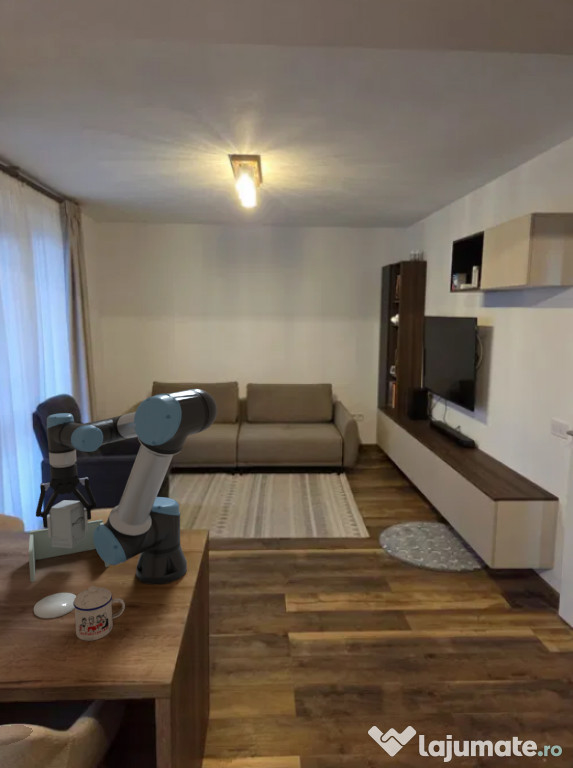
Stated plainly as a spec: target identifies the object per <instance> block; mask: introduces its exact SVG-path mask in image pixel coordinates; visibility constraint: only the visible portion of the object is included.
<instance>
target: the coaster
mask: <svg viewBox="0 0 573 768" xmlns="http://www.w3.org/2000/svg"><path fill="white" fill-rule="evenodd" d="M76 596H77V595H75V593H71V592H57V593H54V594H53V593H52V594H50V595H48V596H44V597H43V598H41V599H40V600H38V601H37V602H36V604H35V605H34V607H33V613H34V615H35V617H38V618H40V619H55V618H58V617H59V618H60V617H62V616H65V615H67V614H69V613H71V612H72V611H75V607H74V605H73V602H74V599H75V597H76Z"/></svg>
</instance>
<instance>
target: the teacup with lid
mask: <svg viewBox="0 0 573 768" xmlns="http://www.w3.org/2000/svg"><path fill="white" fill-rule="evenodd" d="M115 603H120V604H121V608H120V609H119V611H118V612H116V613H113V605H112V604H115ZM125 603H126V602H125V601H124V600H123V599H122V598H120V597H116V598H113V594H112V592H111V590H109V589H108V588H106V587H97V586H96V585H92V586H89V587H88V589H85V590H82V591H81V592H79V593H78V594H77V595H76V597H75V599H74V602H73V605H74V607H75V609H74V619H75V634H76V637H77V638H78V639H80V640H81V641H85V642H87V641H97V640H99V639H102V638H104V637H106V636H108V635H109V634H110V632H111V631H112V629H113V623H114V622H113V620H114V619H117V618H118V617H120V616H121V615H122V614H123V612H124V611H125V608H126V604H125Z"/></svg>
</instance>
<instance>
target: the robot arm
mask: <svg viewBox="0 0 573 768" xmlns="http://www.w3.org/2000/svg"><path fill="white" fill-rule="evenodd" d="M217 416H218V404H217V402H216V400H215V398H214V396H213V395H212V394H210V393H209V392H208V391H205V390H203V389H199V388H190V389H189V388H188V389H185V390H180V391H176V392H175V391H174V392H170V393H159V394H155V395H153V396H150V397H147V398H146V399H144V400H142V402H140V403H139V405H138V406H137V408H136V410H135V411H134V412H129V413H126V414H121V415H117V416H114V417H109V418H104V419H100V420H94V421H90V422H85V423H77V422H75V419H74V416H73V414H72V413H68V412H65V413H64V412H63V413H62V412H61V413H55V414H54V413H53V414H50V415H48V416H47V418H46V433H47V434H46V435H47V445H48V457H49V458H48V459H49V465H50V467H49V469H50V470H49V471H50V472H49V473H50V480H49V482H46V483H44V482H41V483H40V485H39V488H40V493H39V498H38V501H37V506H36V509H35V517H37V518H42V523H43V525H42V526H43V528H48V538H51V528H50V514H49V511H50V509H51V508H52V507H53V506H54V505H55V502H56V500H57V498H58V496H60V495H65V494H72V493H73V495H74V496H75V497H76V498H77V499H78V501H80V502H81V503H82V504H83V506H84V518H85V530H86V531H88V522H89V520H91V519H92V509H94V508H96V507H97V502H96V499H95V496H94V495H93V492H92V490H91V487H90V480H89V479H90V478H89V477H88V476H84V477H82V478H79V475H78V464H77V451H80V452H88V453H89V452H95V451H97V450H98V449H99V448H100V447H101V446H103V445H106V444H111V443H115V442H119V441H124V440H127V439H132V438H137V440H138V442H139V443H140V446H139V449H138V451H137V455H136V458H135V460H134V463H133V466H132V468H131V470H130V474H129V476H128V479H127V481H126V484H125V488H124V490H123V493H122V496H121V497H120V500H119V503H118V505H116V506H114V507H112V509H111V510H110V512H109V515H108V517H107V520H106V522H105V523H103V524H101V525H99V526H98V527H97V528H96V529H95V530H94V533H93V541H94V545H95V548H96V549H95V550H96V552H97V555H99V557H100V559H101V560H102V561H105V562H106V563H107V564H109V566H117V565H120V564H122V563H125V562H126V561H129V560H130V559H132V558H134V557H136V556H138V555H139V557H138V560H137V563H136V567H135V568H136V569H135V570H136V578H137V579H138V581H140V582H141V583H144V584H147V585H165V584H169V583H172V582H173V583H174V582H175V581H178V580H179V579H181V578H183V576H184V575H185V574H186V572H187V570H188V566H187V564H188V563H187V562H188V561H187V559H186V556H185V554H184V551H183V549H182V544H181V512H180V504H179V502H178V501H176V500H175V499H173V498H169V497H165V496H164V497H162V496H158V494H159V491H160V489H161V487H162V484H163V481H164V479H165V476H166V474H167V472H168V470H169V467H170V464H171V462H172V459H173V456H176V455H177V454H180V453H181V451H183V449H184V446H185V443H186V441H187V438H188V437H189V436H193V435H195V434H198V433H202V432H204V431H206V430H208V429H209V428H210V427H211V426H212V425H213V424H214V423H215V422H216V418H217ZM80 483H81V485H82V486H84V489H85V491H86V494H87V496H88V499H89V501H90V503H89V502H88V501H87V500H86V499H85V497H84V496H83V494H82V493H81V492H80V490H79V489H78V488H77V487H78V485H79V484H80ZM49 487H50V488H51V489H52V490H53V492H52V494H51V496H50V497H49V500H48V502H47V504H46V506H45V508H44V509H43V510H42V508H43V505H44V502H45V501H44V500H45V496H46V491H48V490H49ZM105 562H104V563H105Z"/></svg>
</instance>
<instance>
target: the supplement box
mask: <svg viewBox="0 0 573 768" xmlns="http://www.w3.org/2000/svg"><path fill="white" fill-rule="evenodd" d="M84 509H85V507H84V506H83V504H82V503H81V502H80V501H79V500H72V499H71V500H70V499H69V500H67V499H66V500H65V499H64V500H61V501H60V502H58V503H56V504H53V506H52V508H51V509H50V511H49V513H48V515H49V514H50V528H51V542H52V547H60V548H73V547H74V546H76V545H77V544H78V543H80V542H81V541H83V540H84V539H85V538H86V534H85V518H84Z"/></svg>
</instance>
